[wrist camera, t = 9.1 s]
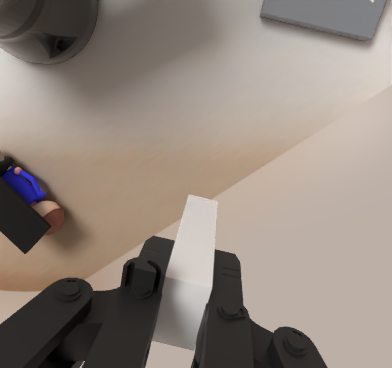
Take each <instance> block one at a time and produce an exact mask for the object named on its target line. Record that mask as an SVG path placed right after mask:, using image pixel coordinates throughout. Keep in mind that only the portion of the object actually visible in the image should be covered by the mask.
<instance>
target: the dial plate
mask: <svg viewBox="0 0 392 368" xmlns="http://www.w3.org/2000/svg"><path fill="white" fill-rule="evenodd" d="M385 3H386V0H264V2H263V6H262V10H261V14H260V17H264V18H269V19H273V20H277V21H281V22H286V23H290V24H294V25H298V26H303V27H307V28H311V29H315V30H320V31H324V32H328V33H332V34H337V35H341V36H345V37H349V38H354V39H358V40H362V41H367V40H369V39H372V38H373V35H374V32H375V30H376V27H377V24H378V22H379V19H380V16H381V14H382V11H383V8H384V5H385Z"/></svg>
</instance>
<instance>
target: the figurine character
mask: <svg viewBox="0 0 392 368" xmlns="http://www.w3.org/2000/svg"><path fill="white" fill-rule="evenodd" d="M4 159H5V160H4ZM13 162H14V160H13V159H12V158H8V157H6V156H3V154H2V152H1V151H0V231H1V232H2V233H3V234H4V235H5V236H6V237H7V238H8V239H9V240H10V241H11V242H12V243H14V244H15V245H16V246H17V247H18V248H19V249H20V250H21V251H22V252H23V253H24V254H26V253H27V252H28V251H29V250H30V249H31V248H32V247H33V246H34V245H35V244H36V243H37V242H38V241H39V240H40V239H41V237H42V236H43V235H48V234H52V233H54V232H56V231H57V230H58V229H60V227H61V226H62V224H63V222H64V212H63V209H62V208H61V207H60V206H59V205H58V204H57V203H55V202H52V201H41V202H40V200H41V199H42V198H43V197H44V196H45V192H44V191H41V190H40V188H39V185H38V183H37V181H36V179H35V178H34V177H32V176H31V175H29V174H28V173H26V172H25V171H23V170H22V169H21V168H20V167H17V166H16V165H15V164H14V163H13ZM10 166H11V167H12V168H10V169H9V170H7V169H8V168H9V167H10ZM21 175H22V176H23V177H25V178H26V179H28V180H29V181H31V183H32V185H33V187H34V188H33V187H32V186H31V185H30V184H29V183H28V182H27V181H26V180H25V179H24V178H23V177H22V176H21Z"/></svg>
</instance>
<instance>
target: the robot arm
mask: <svg viewBox="0 0 392 368" xmlns="http://www.w3.org/2000/svg"><path fill="white" fill-rule="evenodd" d="M97 13H98V0H0V47H1V48H2V49H4V50H5V51H6V52H8V53H9V54H11V55H13V56H15V57H17V58H20V59H22V60H25V61H29V62H35V63H41V64H55V63H60V62H63V61H66V60H68V59H70V58H72V57H73V56H75V55H76V54H77V53H78V52H79V51H81V50H82V48H83V47H84V46H85V45H86V44H87V42H88V41H89V39H90V37H91V35H92V33H93V30H94V27H95V24H96V20H97ZM217 203H218V201H215V200H211V199H206V198H202V197H198V196H193V195H188V199H187V202H186V206H185V209H184V213H183V216H182V219H181V223H180V226H179V230H178V233H177V237H176V240H175V241H174V240H169V239H165V238H161V237H156V236H152V237H151V238H149V239H148V240H146V241H145V243H144V246H143V248H142V250H141V252H140V255H139V256H138V257H137V258H133V259H130V260H128V261H127V262H126V263H125V264H124V267H123V273H122V280H121V286H120V287H118V288H117V289H113V290H106V291H93V289H92V287H91V285H90V284H89V283H88V282H86V281H85V280H83V279H79V278H65V279H61V280H58V281H56V282H54V283H52V284H51V285H50V286H48V287H47V288H46V289H45V290H43V291H42V292H41V293H39V294H38V295H37V296H36V297H34V298H33V299H32V300H31V301H29V302H28V303H27V304H26V305H24V306H23V307H22V308H21V309H19V310H18V311H17V312H16V313H14V314H13V315H12V316H10V317H9V318H8V319H7V320H5V321H4V322H3V323H1V324H0V368H79V367H80V366H81V365H82V363H83V361H85V362H84V364H83V366H82V368H145V366H146V362H147V358H148V354H149V350H150V345H151V341H156V342H160V343H164V344H169V345H173V346H177V347H181V348H185V349H189V350H194V349H195V345H196V349H195V355H194V359H193V362H192V365H191V368H327V366H326V364H325V362H324V361H323V359H322V357H321V355H320V354H319V352H318V350H317V348H316V346H315V345H314V344H313V342H312V341H311V340H310V338H309V337H307V336H306V335H305V334H304V333H302V332H300V331H299V330H297V329H295V328H291V327H279V328H278V329H277V330H275V331H274V333H272V332H270V331H268V330H266V329H264V328H263V327H261V326H259V325H258V324H256V323H255V322H253V321H252V320H251V319H250V317H249V314H248V311H247V309H246V308H245V307H244V306H243V294H242V281H241V268H240V261H239V260H238V258H237V257H236V255H235V254H232V253H228V252H224V251H220V250H216V249H215V235H216V219H217Z"/></svg>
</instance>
